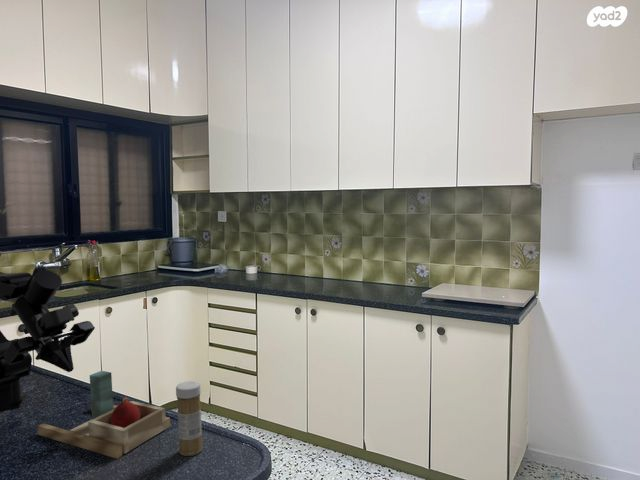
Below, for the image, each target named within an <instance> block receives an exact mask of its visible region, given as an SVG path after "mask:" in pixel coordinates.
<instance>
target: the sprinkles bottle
mask: <svg viewBox="0 0 640 480" xmlns="http://www.w3.org/2000/svg"><path fill="white" fill-rule="evenodd" d="M175 396H176V399H177V425H178V426H177V427H178V437H179V440H178V441H179V448H178V451H179V454H180V455H182V456H184V457H185V456H186V457H192V456H195V455H198V454H200V453H201V452H202V450H203V449H204V448H203V447H204V445H203V436H202V435H203V434H202V432H203V430H202V411H201V409H202V408H201V397H200V396H201V384H200V382H199V381H197V380H196V381H194V380H189V381H183V382H179V384H177V385H176V387H175Z"/></svg>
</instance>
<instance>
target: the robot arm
mask: <svg viewBox="0 0 640 480" xmlns="http://www.w3.org/2000/svg"><path fill="white" fill-rule="evenodd" d="M62 283H63V280H62V278H61V276H60V275H58V274H57V273H55V272H53V271H51V270H46V268H45V267H44V266H41V267H35V268H34V269H33V272H32V273H30V272H11V273H6V272H2V271H0V300H1V301H3V302H4V301H10V300H15V299H16V301H15V302H14V303H12V304H11V309H10V312H9V314H10V316H11V317H14V316H17V317H18V318H19V319H20V321H21V323H22V324H23V326H24V329H23V333H24V335H27V336H24V337H21V338H15V339H12V340H9V339H7V337H6V336H5V335H4V333H3V332H2V330H0V411H1V410H6V409H9V410H10V409H17V408H20V407H21V406H22V404H23V403H24V402H25V401H26V399H27V398H28V396H27V395H25V394H24V395H22V382H21V381H22V378H24V377H29V376H30V372H31V369H32V364H33V363H32V362H33V358H32V355H31V354H30V352H32V351H35V352H36V354H37V355H36V356H35V360H36V361H39V360H41V361H44V362H45V363H48V364H51V365H53V366H55V367H56V368H60V369H61V370H63V371H65V372H67V373H70V372H71V373H72V372H73V371H74V363H73V355H72V348H71V347H72V346H76V345H80V344H83V343H85V342H86V341H87V340H88V338H89V337H90V335H92V332H94V330H95V329H96V328H95V326H94V324H93V322H91V321H89V320H85V321H80V322H77V323H73V325H72V327H71V328H70V329H69V331H65V332H64V330H66V329H67V328H68V325H67V324H68V323H70V322H74V321H75V318H77V317H78V316H79V314H80V312H79V310H78V307H77V306H76V305H75V304H74V302H73V303H68V304H66V305H65V306H62V308H58V309H54V310H51V311H50V310H49V309H48V307H47V306H46V305H47V304H49V303H50V302H51V301H52V299H53V298H54V296H55V295H56V294H57V292H58V290H59V289H60V287H61V286H62ZM28 334H29V336H28Z"/></svg>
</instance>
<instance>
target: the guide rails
mask: <svg viewBox="0 0 640 480" xmlns="http://www.w3.org/2000/svg"><path fill="white" fill-rule="evenodd" d="M90 404H91V401H90ZM118 405H119V404H117V405H116V404H113V409H115V408H116V407H117V406H118ZM90 411H92V409H91V408H90ZM170 427H171V418H170V417H167V416H166V429H168V428H170ZM166 429H165V430H166ZM37 435H38V436H41V437H44V438H48V439H50V440H54V441H58V442H60V443H65V444H68V445H71V446H73V447H77V448H81V449H84V450H88V451H90V452H94V453H97V454H100V455H104V456H106V457H110V458H114V459H116V460H118V459H120V458H121V457H123V453H122V446H121V445H118V444H114V443H111V442H107V441H104V440H100V439H97V438H93V437H89V436H86V435H82V434H79V433H75V432H72V431H70V430H68V429H65V428H61V427H57V426H54V425H51V424H47V423H43V422H42V423H41V424H39V425H37Z"/></svg>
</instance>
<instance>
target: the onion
mask: <svg viewBox="0 0 640 480" xmlns="http://www.w3.org/2000/svg"><path fill="white" fill-rule="evenodd" d="M117 405H118V406H117V407H116V408H115V409H114V411H113V413H112V416H111V421H110V422H111V425H115V426H118V427H122V428H125V427H127V426H129V425H131V424H133V423H134V422H136V421H138V420H140V416H141V414H140V410H139V408H138V407H137V406H136V405H134V404H133V403H131V402H130V399H129V398H128V397H124V398H123V399H122V400H121V402H120V403H119V404H117Z"/></svg>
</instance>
